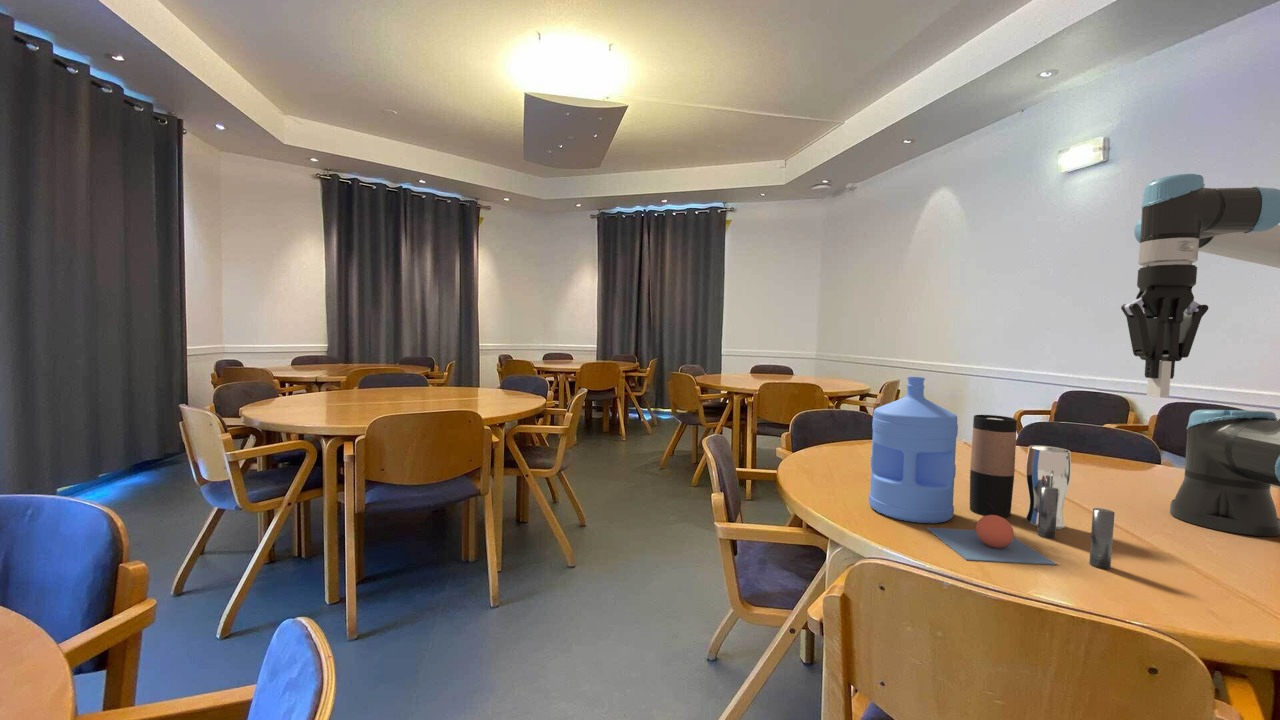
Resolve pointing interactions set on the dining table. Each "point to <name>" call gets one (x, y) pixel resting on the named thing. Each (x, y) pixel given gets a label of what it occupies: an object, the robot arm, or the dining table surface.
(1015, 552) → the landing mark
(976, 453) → the travel mug
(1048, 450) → the beer glass
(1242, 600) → the dining table surface
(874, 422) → the water jug
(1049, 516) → the post
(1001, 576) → the dining table surface
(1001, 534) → the ball
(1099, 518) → the post
